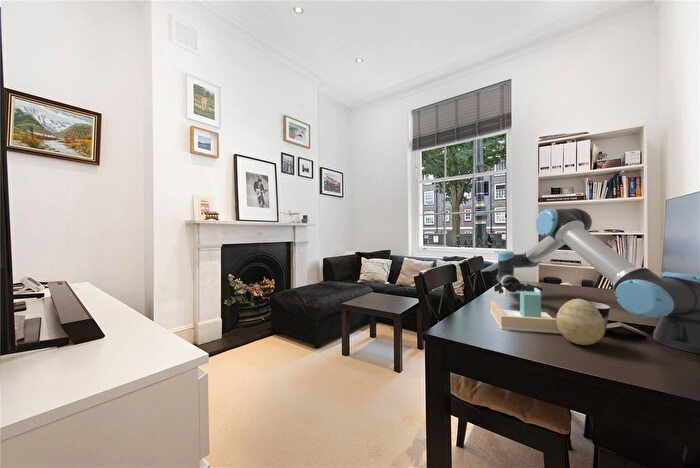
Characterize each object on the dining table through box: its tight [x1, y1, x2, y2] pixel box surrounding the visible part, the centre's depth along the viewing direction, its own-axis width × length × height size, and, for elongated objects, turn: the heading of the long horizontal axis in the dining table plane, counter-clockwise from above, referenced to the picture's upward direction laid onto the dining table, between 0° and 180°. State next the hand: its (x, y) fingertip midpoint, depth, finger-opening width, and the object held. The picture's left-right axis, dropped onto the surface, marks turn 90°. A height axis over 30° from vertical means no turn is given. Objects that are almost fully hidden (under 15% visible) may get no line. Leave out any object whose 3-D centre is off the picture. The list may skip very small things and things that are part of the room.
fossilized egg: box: [555, 298, 605, 346], centre depth 95 cm, size 13×13×15 cm
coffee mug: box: [588, 301, 611, 336], centre depth 104 cm, size 12×9×10 cm
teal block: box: [519, 291, 542, 318], centre depth 118 cm, size 6×6×10 cm
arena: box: [489, 300, 561, 334], centre depth 117 cm, size 22×22×5 cm
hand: (522, 293), depth 127 cm, fingers open, 13 cm apart
